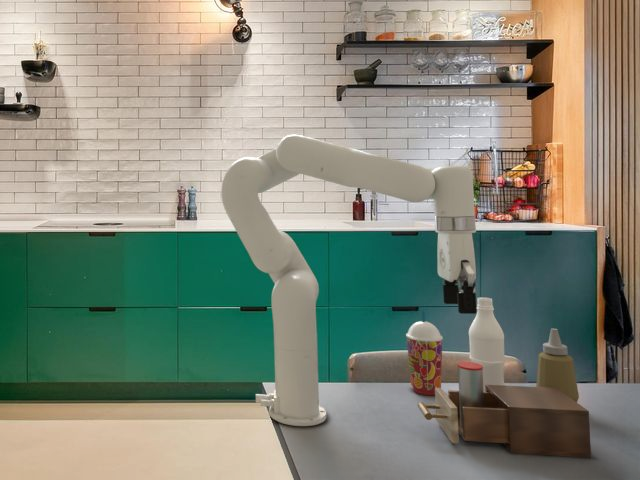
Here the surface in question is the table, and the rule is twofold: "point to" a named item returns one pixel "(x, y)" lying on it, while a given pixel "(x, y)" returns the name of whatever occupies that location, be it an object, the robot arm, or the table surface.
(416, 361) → the smoothie
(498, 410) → the drawer
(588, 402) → the table surface
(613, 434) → the table surface
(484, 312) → the water bottle
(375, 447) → the table surface
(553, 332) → the squeeze bottle
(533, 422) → the cabinet
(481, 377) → the spice tin
